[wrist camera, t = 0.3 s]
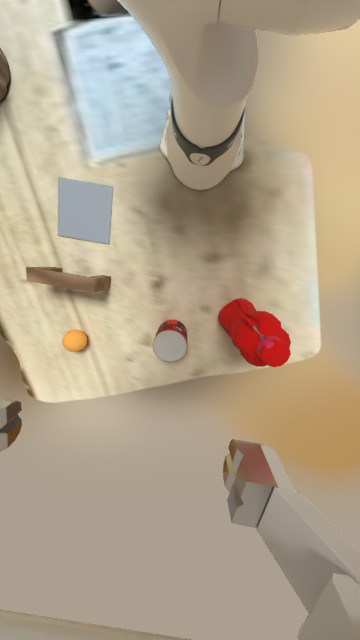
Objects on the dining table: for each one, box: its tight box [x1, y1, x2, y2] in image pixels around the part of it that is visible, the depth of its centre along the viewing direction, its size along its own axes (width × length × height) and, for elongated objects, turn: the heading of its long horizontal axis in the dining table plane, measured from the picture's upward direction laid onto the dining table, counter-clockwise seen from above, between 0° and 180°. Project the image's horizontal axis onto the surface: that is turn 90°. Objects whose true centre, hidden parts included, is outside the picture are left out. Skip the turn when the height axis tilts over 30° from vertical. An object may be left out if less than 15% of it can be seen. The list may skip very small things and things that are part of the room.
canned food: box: [153, 320, 187, 362], centre depth 51 cm, size 8×8×11 cm
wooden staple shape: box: [26, 267, 111, 292], centre depth 48 cm, size 3×15×10 cm, turn 81°
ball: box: [62, 330, 87, 352], centre depth 55 cm, size 6×6×6 cm
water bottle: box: [219, 299, 291, 367], centre depth 42 cm, size 9×11×25 cm
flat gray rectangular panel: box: [58, 177, 113, 244], centre depth 49 cm, size 13×13×1 cm
